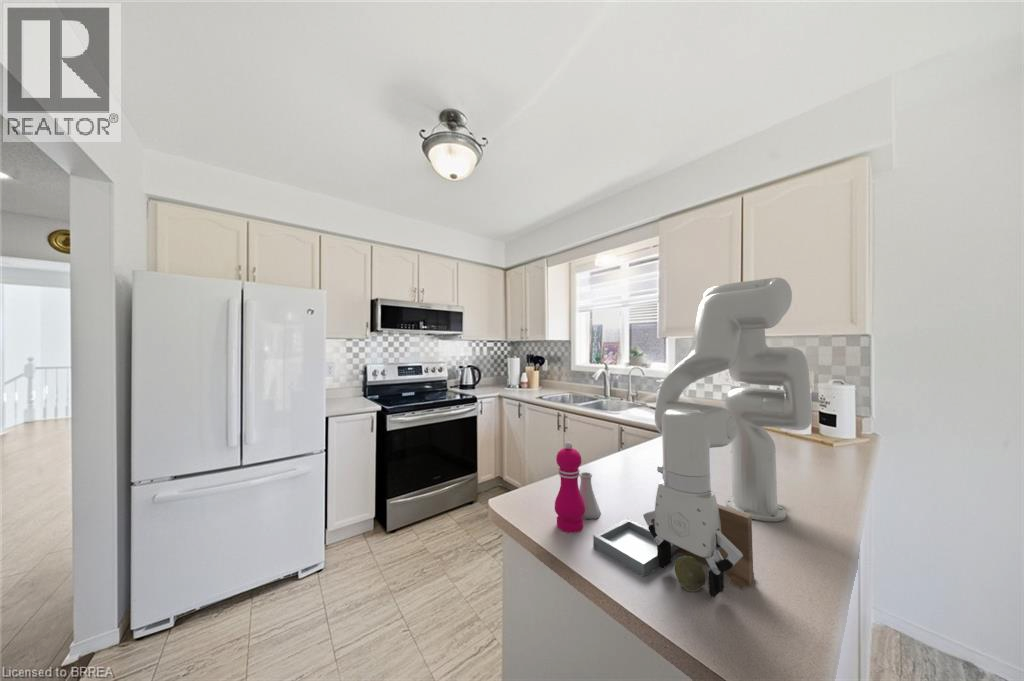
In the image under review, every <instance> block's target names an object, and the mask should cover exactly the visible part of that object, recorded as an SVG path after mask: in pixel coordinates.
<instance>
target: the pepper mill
mask: <svg viewBox="0 0 1024 681" xmlns="http://www.w3.org/2000/svg"><path fill="white" fill-rule="evenodd" d="M556 464H557V466H558V476H559V478H560V487H559V490H558V493H557V496H556V498H555V501H554V511H555V513H556V515H557V516H556V526H557V528H558V529H559V530H560V531H562V532H565V533H572V534H573V533H579V532H580V531H583V529H584V518H582V516H583V515H584V513H585V504H584V501H583V498H582V496H581V494H580V491H579V489H580V486H579V483H578V482H579V481H578V480H579V478H580V471H581V470H580V469H579V468H580V467H581V465H582V456H581V453H580V452H579V451H578V450H577V449H575V448H573V443H572V442H571V441H567V442H565V443H564V448H561V449H560V450H559V451H558V452H557V454H556Z"/></svg>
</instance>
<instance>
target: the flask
mask: <svg viewBox="0 0 1024 681" xmlns="http://www.w3.org/2000/svg"><path fill="white" fill-rule="evenodd" d="M579 474H580V475H579V478H580V484H579V491H580V494H581V496H582V498H583V501H584V504H585V513H584V515H583V516H582V518H583V519H585V520H591V519H599V517H600V516H601V513H602V512H601V509H600V506H599V503H598V502H597V498H596V496H595V493H594V490H593V485H592V477H593V474H592V473H591V472H587V471H582V472H579Z"/></svg>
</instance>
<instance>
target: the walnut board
mask: <svg viewBox="0 0 1024 681" xmlns="http://www.w3.org/2000/svg"><path fill="white" fill-rule="evenodd" d="M717 505H718V510H719V515H720V522H721V532H722V534H723V535H724V536H725V537H726V538H727V539H728V540H729V541H730V542H731V543H732V544H733V545H734V546H735V547H736V548H737V549H738V550H739V551H740V552H741V553H742V554H743V557H742V558H741V559H740V560H739V561H738V562H737V563H736V564H735V565H734V566H733V567H732V568H730V569H729V570H726V571H724V576H726V577H729V583H730V584H731V585H733V586H735V587H736V588H739V589H740V590H744V589H746V587H748V588H751V587H752V586H753V585H754V584H755V583H754V579H755V572H754V556H753V555H754V553H753V552H754V551H753V550H754V549H753V526H752V523H753V522H752V518H751V515H748V514H745V513H742V512H739V511H736V510H733V509H731V508H728V507H727V506H725V505H722V504H718V503H717ZM677 550H678V551H677V552H678V553H677V554H676V551H675V554H676V556H677V555H678V554H682V555H683V556H690V557H693V558H695V559H696V560H697V561H698V562H699V563H700V564H701V565H704V566H706V567H708V568H710V566H709V564H708V562H707V560H706V559H705V558H702V557H699V556H697V555H695V554H693V553H690V552H688V551H686V550H684V549H682V548H680V547H678V549H677ZM719 552H720V554H721V556H722V557H723V559H725V558H727V557H728V554H727V552H726V551H725V550H724V549H723V548H721V549H720V550H719Z"/></svg>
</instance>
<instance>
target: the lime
mask: <svg viewBox="0 0 1024 681" xmlns="http://www.w3.org/2000/svg"><path fill="white" fill-rule="evenodd" d="M674 564H675V565H674V569H673V570H674V573H675V577H676V579H677V580H678V583H679V585H681V587H683V588H684V589H685V590H686V591H688V592H698V591H700V590H701V589H702V588H704V586H705V585H706V581H707V576H706V571H705V569H704V568H705V567H704V566H703V564H702V563H700V562H698V561H697V560H696V559H695V558H693V557H690V556H686V555H683V556H681V557H679V558H677V559H676V561H675V563H674Z"/></svg>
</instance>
